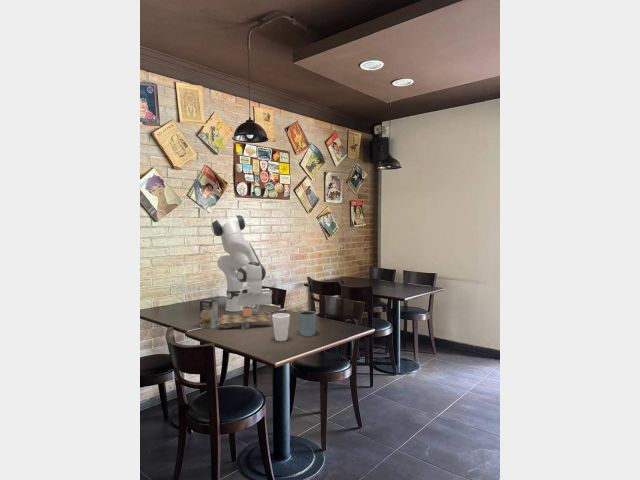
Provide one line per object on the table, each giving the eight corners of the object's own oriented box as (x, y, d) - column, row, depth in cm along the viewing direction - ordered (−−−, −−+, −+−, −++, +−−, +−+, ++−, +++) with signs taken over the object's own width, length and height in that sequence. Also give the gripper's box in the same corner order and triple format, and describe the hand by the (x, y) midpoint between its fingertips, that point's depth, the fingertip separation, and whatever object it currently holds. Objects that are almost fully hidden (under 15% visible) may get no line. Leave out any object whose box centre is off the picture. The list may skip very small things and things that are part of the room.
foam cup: (272, 336, 216) (272, 313, 216) (289, 336, 217) (289, 313, 216) (272, 342, 207) (272, 317, 206) (289, 341, 208) (289, 317, 207)
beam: (269, 324, 243) (269, 312, 242) (270, 327, 235) (270, 315, 235) (219, 327, 236) (219, 314, 236) (219, 330, 229) (218, 318, 228)
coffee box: (199, 327, 237) (198, 300, 236) (205, 324, 243) (205, 298, 242) (212, 328, 234) (212, 301, 233) (218, 325, 240) (218, 299, 239)
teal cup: (303, 337, 215) (302, 315, 215) (295, 332, 224) (295, 311, 224) (319, 334, 220) (319, 313, 219) (311, 330, 229) (311, 309, 228)
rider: (251, 315, 239) (251, 305, 239) (251, 317, 233) (251, 307, 233) (242, 315, 238) (242, 305, 238) (243, 318, 232) (242, 307, 232)
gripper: (271, 287, 241) (271, 310, 242) (237, 289, 237) (237, 311, 237) (272, 289, 235) (272, 312, 236) (237, 291, 231) (237, 314, 231)
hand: (254, 312), depth 237 cm, fingers closed
